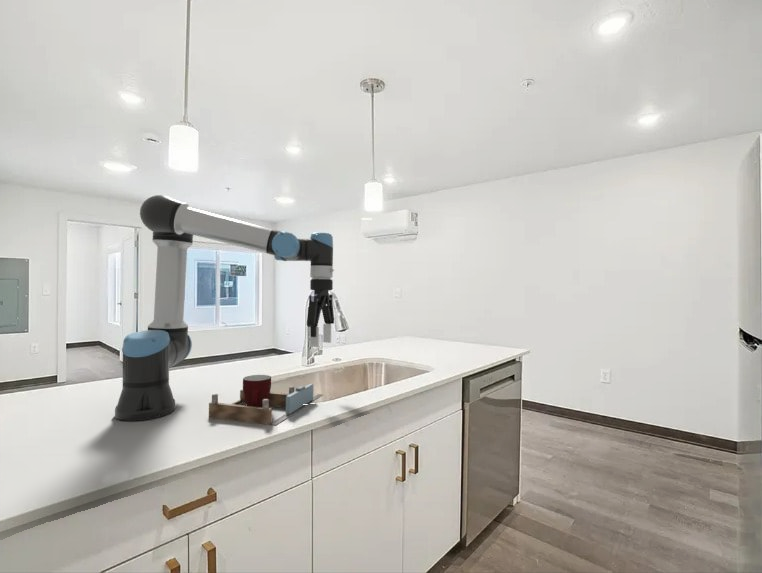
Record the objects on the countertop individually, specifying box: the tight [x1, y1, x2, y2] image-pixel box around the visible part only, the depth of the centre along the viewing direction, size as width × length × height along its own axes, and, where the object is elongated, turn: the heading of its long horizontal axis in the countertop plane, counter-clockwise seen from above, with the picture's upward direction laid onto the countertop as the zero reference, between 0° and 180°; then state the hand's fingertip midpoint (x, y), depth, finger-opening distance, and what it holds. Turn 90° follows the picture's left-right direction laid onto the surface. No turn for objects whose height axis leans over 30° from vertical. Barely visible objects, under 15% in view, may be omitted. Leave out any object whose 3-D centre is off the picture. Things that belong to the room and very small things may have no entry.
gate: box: [285, 383, 314, 414], centre depth 120 cm, size 2×15×6 cm, turn 164°
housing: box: [208, 385, 324, 427], centre depth 122 cm, size 22×31×6 cm
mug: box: [242, 374, 272, 408], centre depth 115 cm, size 10×8×10 cm
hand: (321, 344), depth 132 cm, fingers open, 9 cm apart
